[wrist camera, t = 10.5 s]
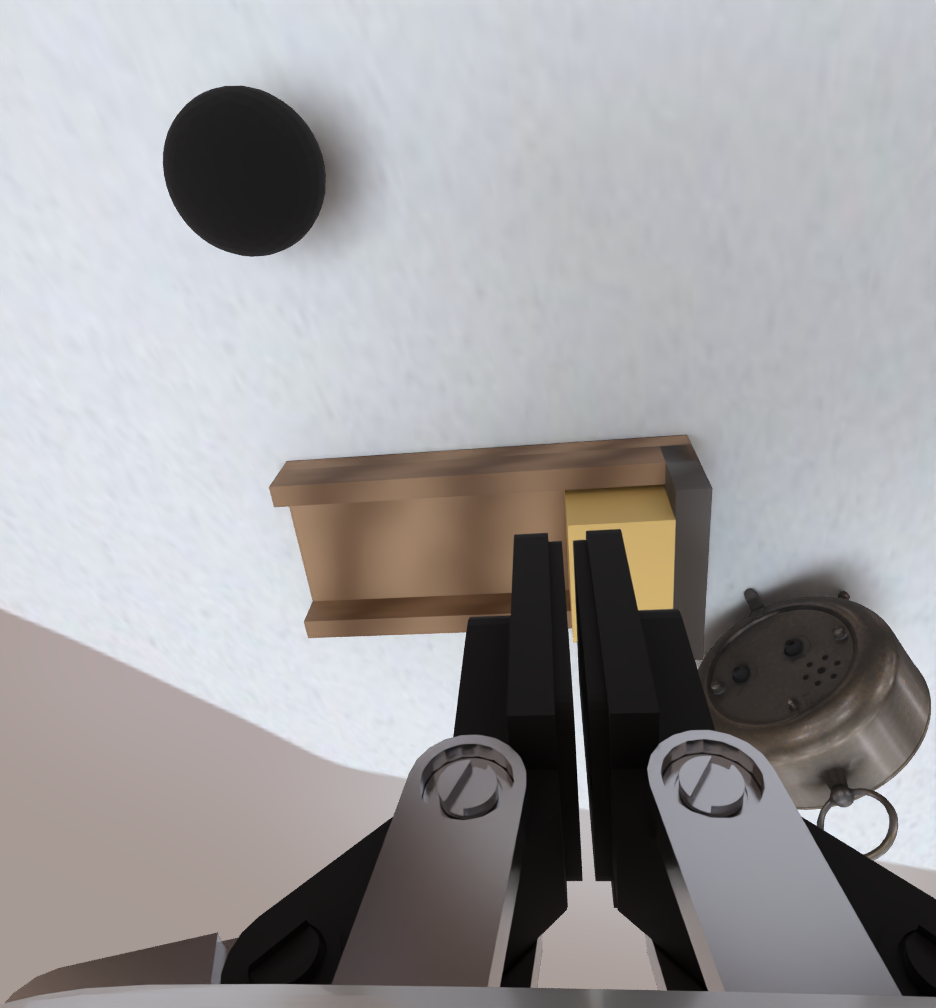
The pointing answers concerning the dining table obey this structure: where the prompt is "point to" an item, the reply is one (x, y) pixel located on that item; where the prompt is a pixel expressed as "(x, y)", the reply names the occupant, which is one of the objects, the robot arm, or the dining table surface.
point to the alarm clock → (820, 699)
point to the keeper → (628, 537)
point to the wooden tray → (470, 528)
